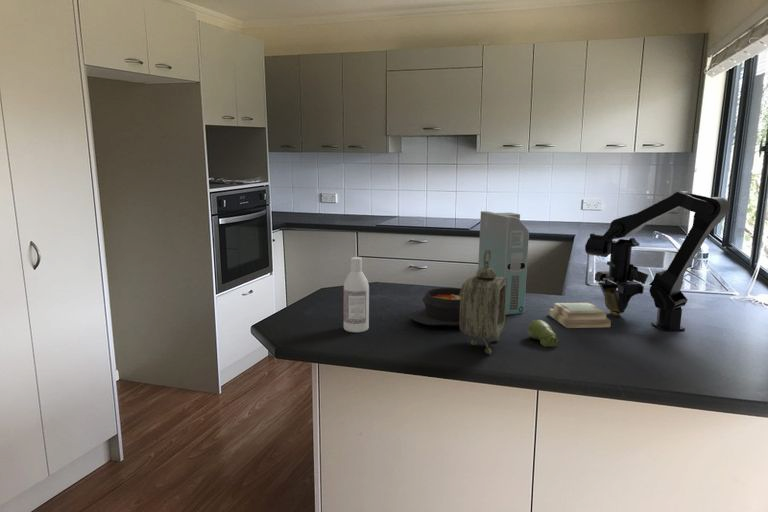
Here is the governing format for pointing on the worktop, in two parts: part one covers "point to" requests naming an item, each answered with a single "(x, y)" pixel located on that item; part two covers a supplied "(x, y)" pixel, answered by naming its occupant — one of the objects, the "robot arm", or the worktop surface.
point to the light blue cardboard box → (506, 254)
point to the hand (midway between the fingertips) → (615, 309)
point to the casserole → (440, 308)
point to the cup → (612, 302)
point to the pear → (542, 333)
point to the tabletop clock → (483, 305)
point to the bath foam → (356, 299)
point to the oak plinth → (579, 315)
